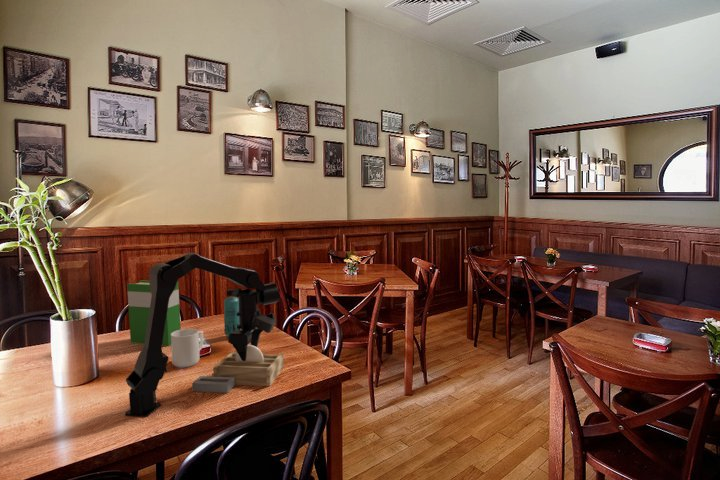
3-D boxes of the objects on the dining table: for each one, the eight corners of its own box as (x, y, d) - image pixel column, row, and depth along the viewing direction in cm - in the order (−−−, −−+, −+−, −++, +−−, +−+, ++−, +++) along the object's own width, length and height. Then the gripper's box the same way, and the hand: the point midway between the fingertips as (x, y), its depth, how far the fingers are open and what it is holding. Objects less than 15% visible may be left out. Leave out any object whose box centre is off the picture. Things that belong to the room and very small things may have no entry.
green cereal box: (130, 342, 164) (127, 283, 162) (144, 336, 171) (141, 280, 169) (168, 346, 160) (165, 285, 158) (181, 339, 167) (178, 281, 165)
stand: (227, 392, 121) (227, 384, 120) (192, 391, 122) (192, 383, 122) (234, 385, 126) (234, 377, 125) (200, 383, 127) (200, 375, 127)
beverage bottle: (223, 335, 172) (221, 288, 170) (239, 333, 175) (238, 287, 173) (225, 340, 166) (223, 292, 164) (242, 338, 169) (240, 290, 167)
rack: (270, 386, 125) (269, 370, 124) (213, 383, 127) (213, 367, 126) (283, 367, 139) (283, 353, 138) (232, 365, 141) (232, 351, 140)
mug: (184, 370, 137) (183, 338, 136) (166, 365, 141) (164, 334, 140) (212, 358, 148) (210, 328, 146) (194, 354, 151) (193, 324, 150)
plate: (263, 373, 132) (261, 346, 130) (236, 372, 133) (234, 345, 132) (264, 371, 133) (263, 345, 132) (237, 370, 134) (236, 344, 133)
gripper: (262, 316, 121) (263, 368, 122) (281, 301, 139) (282, 345, 140) (226, 315, 122) (228, 366, 123) (249, 300, 140) (251, 344, 142)
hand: (249, 355), depth 132 cm, fingers open, 9 cm apart
